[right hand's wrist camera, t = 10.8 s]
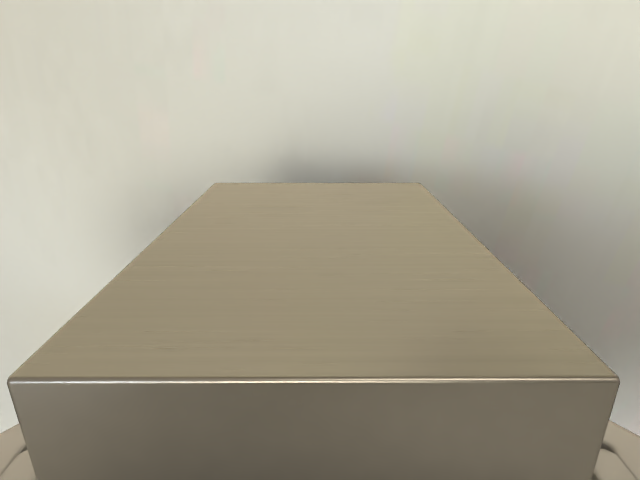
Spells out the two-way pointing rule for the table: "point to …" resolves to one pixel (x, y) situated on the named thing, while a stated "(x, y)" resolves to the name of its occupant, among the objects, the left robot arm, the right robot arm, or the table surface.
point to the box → (314, 353)
